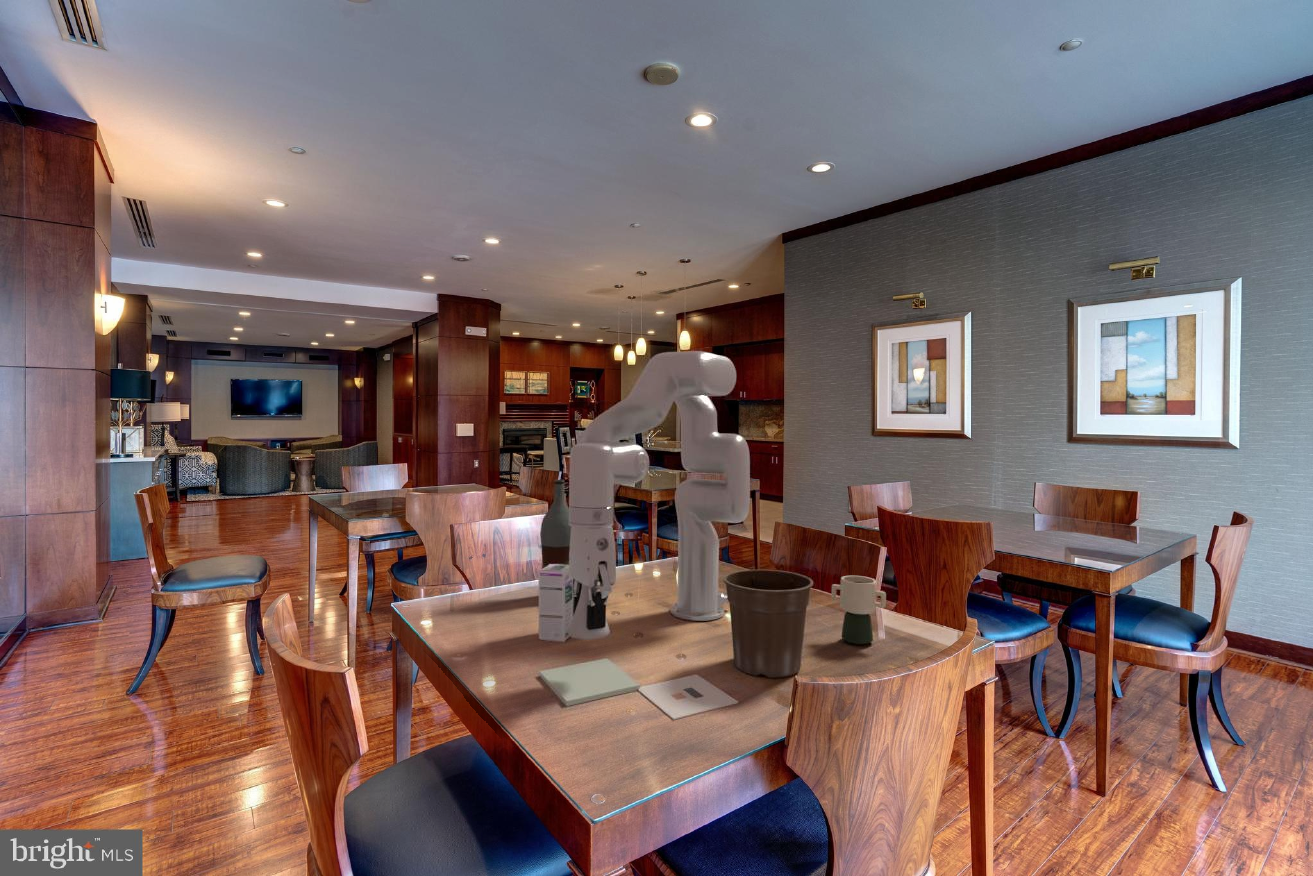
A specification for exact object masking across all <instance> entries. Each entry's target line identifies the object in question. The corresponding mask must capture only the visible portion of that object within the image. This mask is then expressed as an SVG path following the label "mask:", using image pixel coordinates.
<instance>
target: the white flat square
mask: <svg viewBox="0 0 1313 876" xmlns="http://www.w3.org/2000/svg"><path fill="white" fill-rule="evenodd" d="M637 691H638V692H639V693H640V694H642V696H643V697H645V698H646V699H648V700H649V701H650V702H651V703H652V704H654V705H655V706H656V707H658V708H659V710H660V711H662V712H664V714H666V715H667V716H668V717H669V718H671V719H672V720H673V721H674V720H680V719H683V718H687V717H690V716H694V715H697V714H701V713H706V712H710V711H713V710H717V709H721V708H724V707H728V706H733V705H736V704H739V701H738V700H736V699H735V698H733V697H731V696H730V695H729V694H727V693H726V692H724V691H723V690H722V689H720V688H718V687H716V686H714V685H713V684H712V683H710V681H708V680H706V679H704V678H703V677H702V676H700V675H698V674H692V675H688V676H684V677H679V678H675V679H670V680H667V681H663V682H662V681H661V682H656V683H652V684H648V685H643V686H640V689H638V690H637Z"/></svg>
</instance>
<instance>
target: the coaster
mask: <svg viewBox="0 0 1313 876" xmlns="http://www.w3.org/2000/svg"><path fill="white" fill-rule="evenodd" d="M538 673H539V677H540V678H541V679H542V680H543V682H544V683H545V684H546V685H547V686H548V687H549V689H550V690H551V692H553V693H554V694H555V695H556V696H557V698H558V699H559V700H560V701H561V702H562V703H563V704H564V705H565V707H570V706H574V705H579V704H582V703H587V702H591V701H592V702H593V701H595V700H601V699H605V698H610V697H614V696H618V695H623V694H627V693H631V692H637V691H638V689H640V687H641V684H640V683H639V682H638V681H637V680H635V679H634V678H633V677H631V676H630V675H629V674H627V673H626V672H625V671H624V670H623V669H621V668H620V667H619V666H618V665H616V664H615V663H614V662H612V661H611V660H610V659H609V658H601V659H596V660H592V661H586V662H582V663H581V662H580V663H576V664H570V665H565V666H560V667H555V668H550V669H545V670H540V671H538Z"/></svg>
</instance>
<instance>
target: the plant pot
mask: <svg viewBox="0 0 1313 876" xmlns="http://www.w3.org/2000/svg"><path fill="white" fill-rule="evenodd" d="M723 582H724V584H725V587H726V588H725V589H726V594H727V599H728V601H729V602H728V603H729V614H730V625H731V626H730V627H731V638H732V651H733V664H734V666H735V667H736V668H737V669H738V670H740V671H741V672H743V673H745V674H748V675H752V676H754V677H757V676H760V675H763V676H765V677H767V678H773V679H775V678H786V677H790V676H793V675H795V674H797V673H798V672H799V671H800V669H801V667H802V658H803V657H802V656H803V648H804V647H803V645H804V637H805V629H806V628H805V625H806V617H807V607H808V606H809V604H810V603H809V602H810V594H811V589H812V587H813V586H814V581H813V580H812V578H811V577H808V576H806V575H803V574H800V573H796V572H792V571H785V570H777V569H775V570H774V569H744V570H737V571H732V572H729V573H727V574H725V575H724V576H723Z"/></svg>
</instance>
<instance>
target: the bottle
mask: <svg viewBox="0 0 1313 876" xmlns="http://www.w3.org/2000/svg"><path fill="white" fill-rule="evenodd" d="M553 490H554V492H553V493H554V494H553V502H552V504H551V505H550V507H549V508H548V510H547V512H546V514H545V515H544V516H543V518H542V520H541V521H542V522H541V526H540V533H539V534H540V547H541V563H542V564H541V569H543V568H545V567H547V566H548V565H549V564H566V565H569V549H570V536H571V527H572V526H569V506H568V505H567V503H566V502H565V480H564V479H554V489H553Z"/></svg>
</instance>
